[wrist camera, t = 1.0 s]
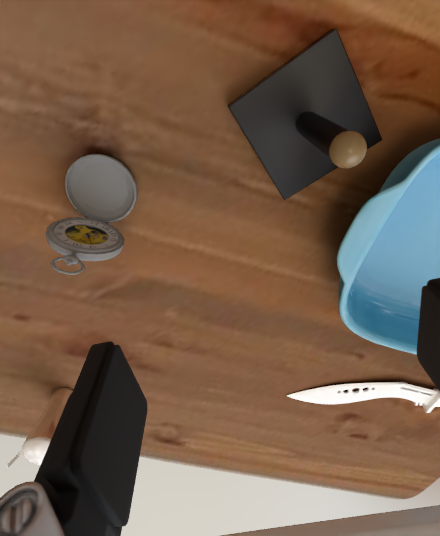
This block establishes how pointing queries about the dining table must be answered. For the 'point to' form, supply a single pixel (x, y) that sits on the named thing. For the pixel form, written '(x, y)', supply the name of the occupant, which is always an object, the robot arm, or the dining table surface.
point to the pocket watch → (93, 211)
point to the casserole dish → (393, 253)
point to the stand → (308, 116)
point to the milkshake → (44, 428)
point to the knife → (370, 394)
